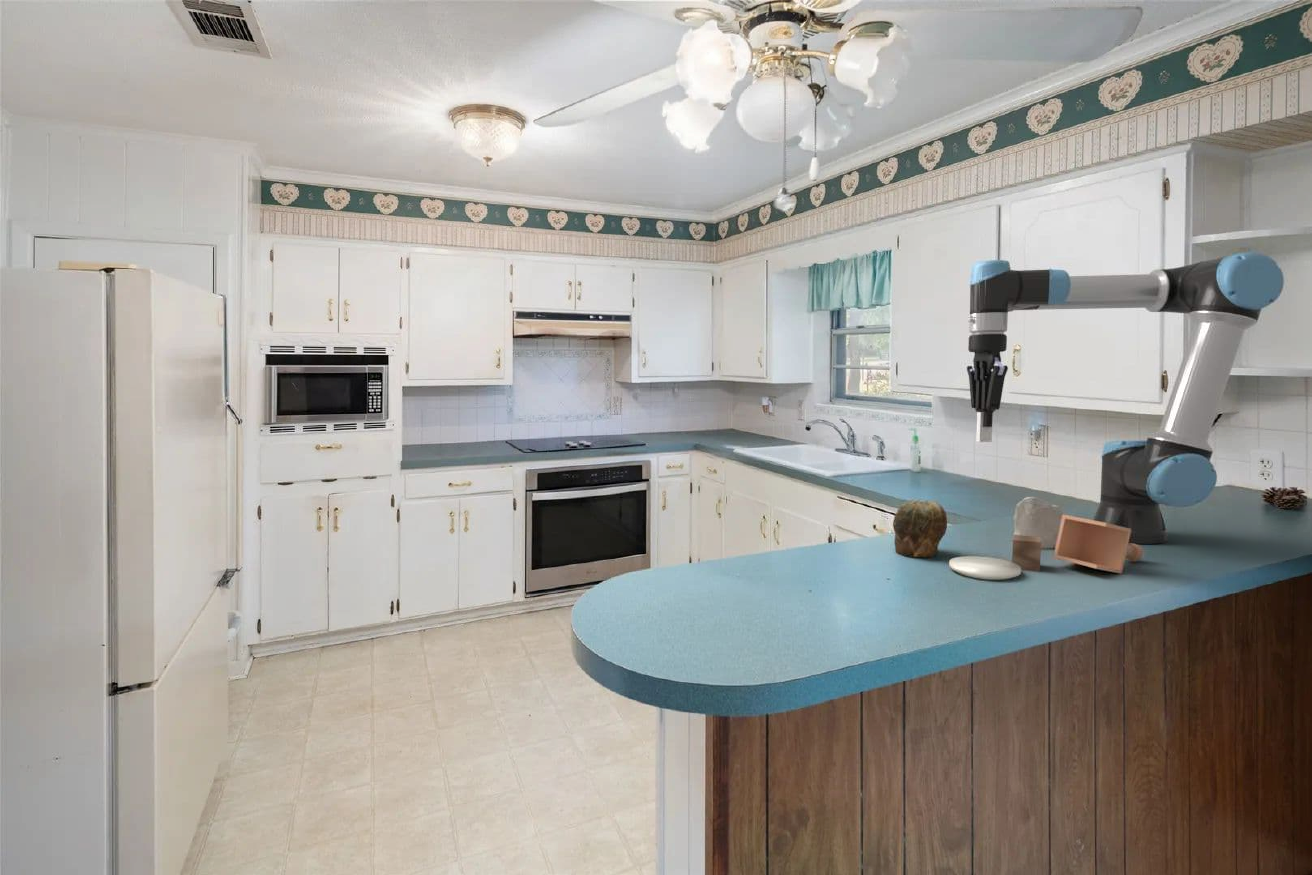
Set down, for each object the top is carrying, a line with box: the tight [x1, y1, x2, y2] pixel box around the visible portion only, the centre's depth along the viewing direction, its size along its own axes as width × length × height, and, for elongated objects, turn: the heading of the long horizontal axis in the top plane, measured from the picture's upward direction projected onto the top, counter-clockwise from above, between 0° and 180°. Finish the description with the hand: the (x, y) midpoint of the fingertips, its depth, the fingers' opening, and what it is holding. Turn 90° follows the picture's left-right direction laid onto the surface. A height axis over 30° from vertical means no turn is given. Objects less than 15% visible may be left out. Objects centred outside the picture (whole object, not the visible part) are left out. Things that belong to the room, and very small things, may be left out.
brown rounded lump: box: [892, 499, 948, 558], centre depth 153 cm, size 11×11×12 cm
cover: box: [1053, 514, 1145, 574], centre depth 142 cm, size 9×9×19 cm
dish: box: [948, 555, 1022, 581], centre depth 139 cm, size 13×13×1 cm
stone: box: [1013, 496, 1064, 550], centre depth 158 cm, size 10×5×12 cm, turn 80°
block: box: [1011, 534, 1042, 572], centre depth 142 cm, size 5×5×6 cm
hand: (983, 441), depth 154 cm, fingers closed
